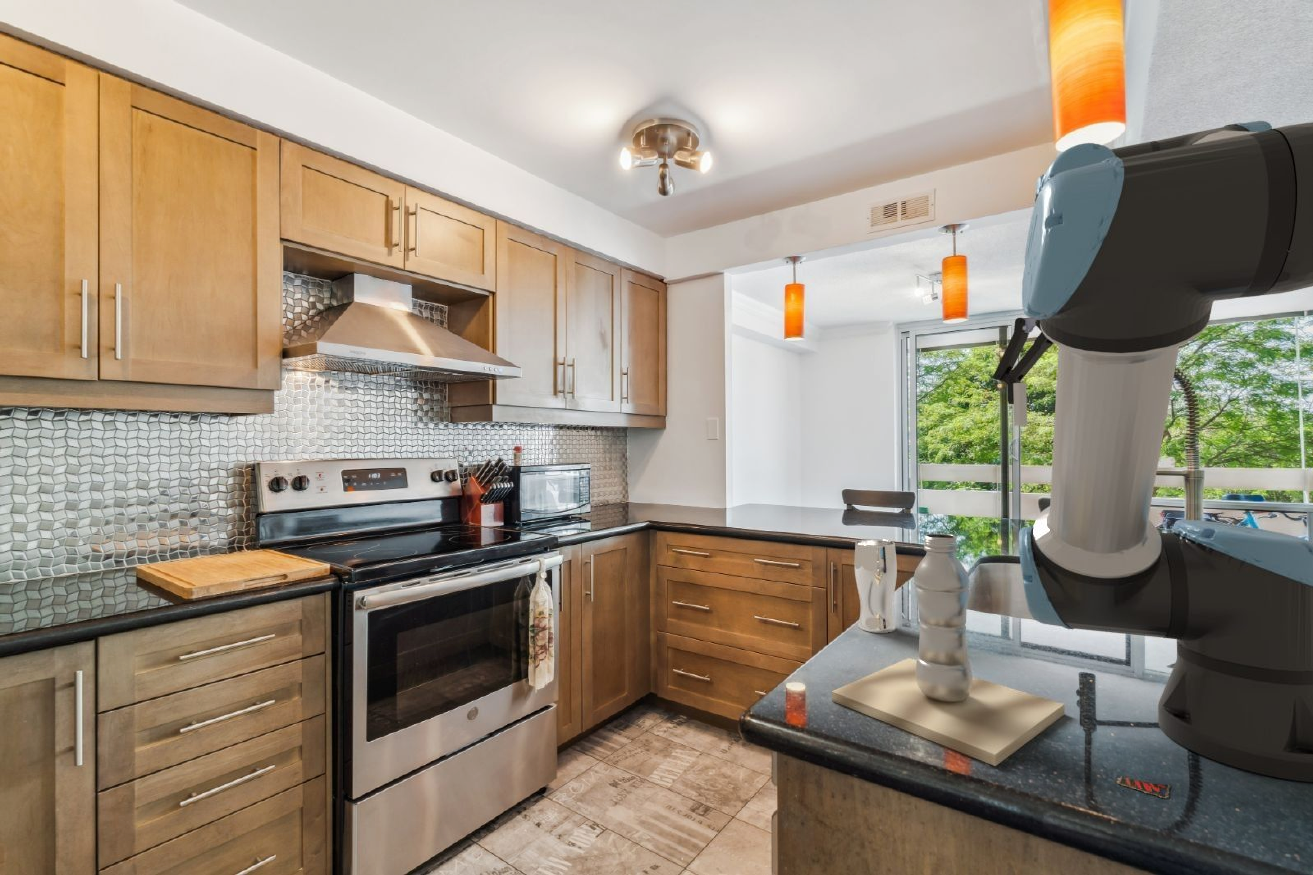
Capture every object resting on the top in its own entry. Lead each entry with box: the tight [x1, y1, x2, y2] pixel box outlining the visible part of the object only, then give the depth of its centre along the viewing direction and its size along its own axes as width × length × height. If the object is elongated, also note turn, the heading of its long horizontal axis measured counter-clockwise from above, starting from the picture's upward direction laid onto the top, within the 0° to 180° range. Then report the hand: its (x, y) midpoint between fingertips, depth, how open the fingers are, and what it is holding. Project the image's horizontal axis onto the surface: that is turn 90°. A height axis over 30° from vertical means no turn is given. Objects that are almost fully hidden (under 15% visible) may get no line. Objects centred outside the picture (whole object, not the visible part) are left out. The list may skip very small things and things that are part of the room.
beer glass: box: [854, 538, 898, 634], centre depth 106 cm, size 7×7×15 cm
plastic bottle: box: [913, 533, 973, 702], centre depth 75 cm, size 6×7×20 cm
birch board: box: [831, 657, 1065, 767], centre depth 75 cm, size 20×18×1 cm
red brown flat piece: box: [1116, 770, 1172, 799], centre depth 59 cm, size 5×5×1 cm
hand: (1071, 424), depth 88 cm, fingers open, 13 cm apart
